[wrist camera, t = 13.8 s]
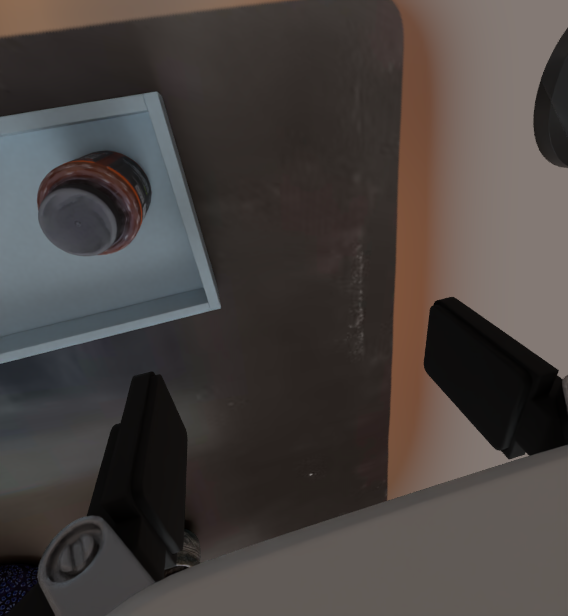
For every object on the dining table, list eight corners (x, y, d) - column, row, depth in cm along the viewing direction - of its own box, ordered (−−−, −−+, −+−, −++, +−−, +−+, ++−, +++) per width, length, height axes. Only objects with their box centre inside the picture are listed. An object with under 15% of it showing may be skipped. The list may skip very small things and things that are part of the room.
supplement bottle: (60, 187, 27) (-12, 223, 18) (105, 132, 26) (55, 139, 17) (125, 236, 30) (94, 290, 21) (167, 188, 29) (155, 222, 20)
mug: (208, 538, 59) (210, 609, 50) (137, 563, 57) (127, 639, 49) (192, 511, 54) (192, 584, 45) (114, 536, 52) (98, 617, 44)
